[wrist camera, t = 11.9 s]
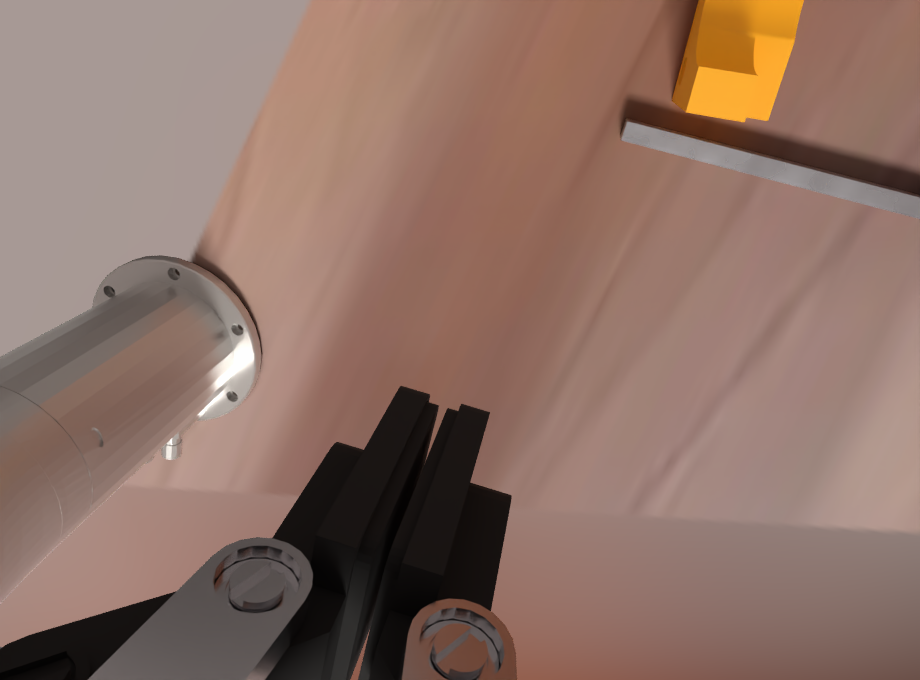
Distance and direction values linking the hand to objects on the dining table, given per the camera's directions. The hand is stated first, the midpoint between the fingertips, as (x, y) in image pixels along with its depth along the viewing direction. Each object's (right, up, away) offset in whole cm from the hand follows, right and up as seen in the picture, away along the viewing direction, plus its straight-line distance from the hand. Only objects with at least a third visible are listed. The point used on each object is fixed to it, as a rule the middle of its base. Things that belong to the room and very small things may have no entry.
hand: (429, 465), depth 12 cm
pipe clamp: (+15, +20, +21) cm, 33 cm away
